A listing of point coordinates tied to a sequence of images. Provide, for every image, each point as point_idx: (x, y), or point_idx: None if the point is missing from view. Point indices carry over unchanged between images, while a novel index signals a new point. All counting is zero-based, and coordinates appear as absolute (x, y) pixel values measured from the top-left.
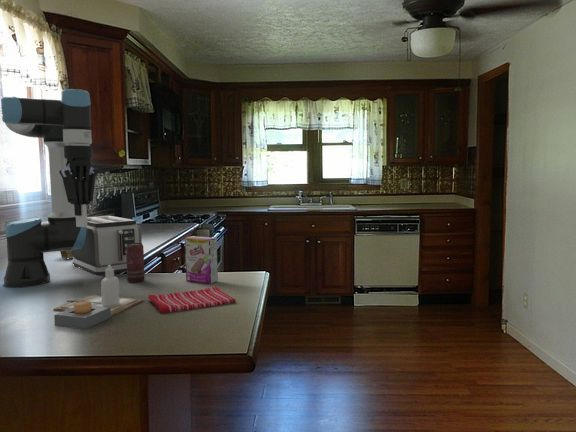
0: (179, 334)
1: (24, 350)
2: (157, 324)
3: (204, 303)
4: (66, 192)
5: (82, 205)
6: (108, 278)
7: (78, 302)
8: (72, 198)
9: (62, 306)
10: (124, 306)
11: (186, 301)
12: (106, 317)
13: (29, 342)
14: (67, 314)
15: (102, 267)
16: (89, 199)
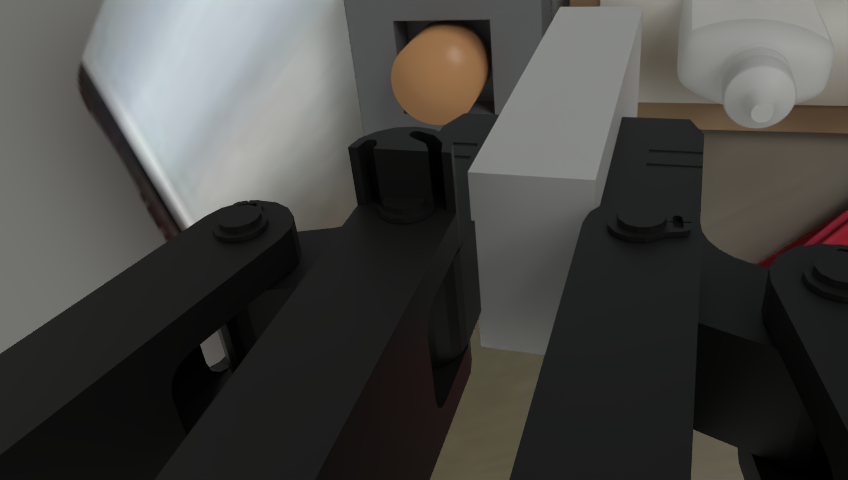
0: (472, 446)
1: (141, 78)
2: (537, 354)
3: None
4: (15, 368)
5: (482, 332)
6: (713, 90)
7: (442, 45)
8: (190, 379)
9: None
10: (724, 113)
11: None
12: None
13: (187, 29)
14: (369, 37)
15: None
16: (741, 437)
